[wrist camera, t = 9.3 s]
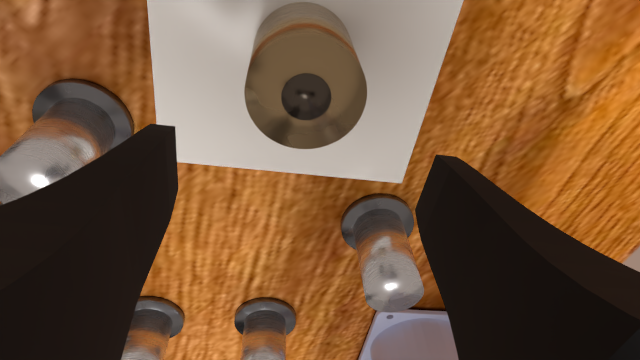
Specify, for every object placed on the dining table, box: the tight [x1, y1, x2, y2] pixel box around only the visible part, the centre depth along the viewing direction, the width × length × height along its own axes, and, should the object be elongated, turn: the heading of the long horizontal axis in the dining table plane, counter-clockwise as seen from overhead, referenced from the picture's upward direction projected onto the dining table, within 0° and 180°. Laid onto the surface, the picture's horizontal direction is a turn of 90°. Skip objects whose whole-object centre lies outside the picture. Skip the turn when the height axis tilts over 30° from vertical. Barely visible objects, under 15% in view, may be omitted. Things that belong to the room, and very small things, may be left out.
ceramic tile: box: [147, 0, 464, 183], centre depth 19 cm, size 13×13×1 cm
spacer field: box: [0, 79, 424, 360], centre depth 24 cm, size 24×20×6 cm
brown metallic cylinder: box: [244, 2, 367, 149], centre depth 17 cm, size 4×4×5 cm
